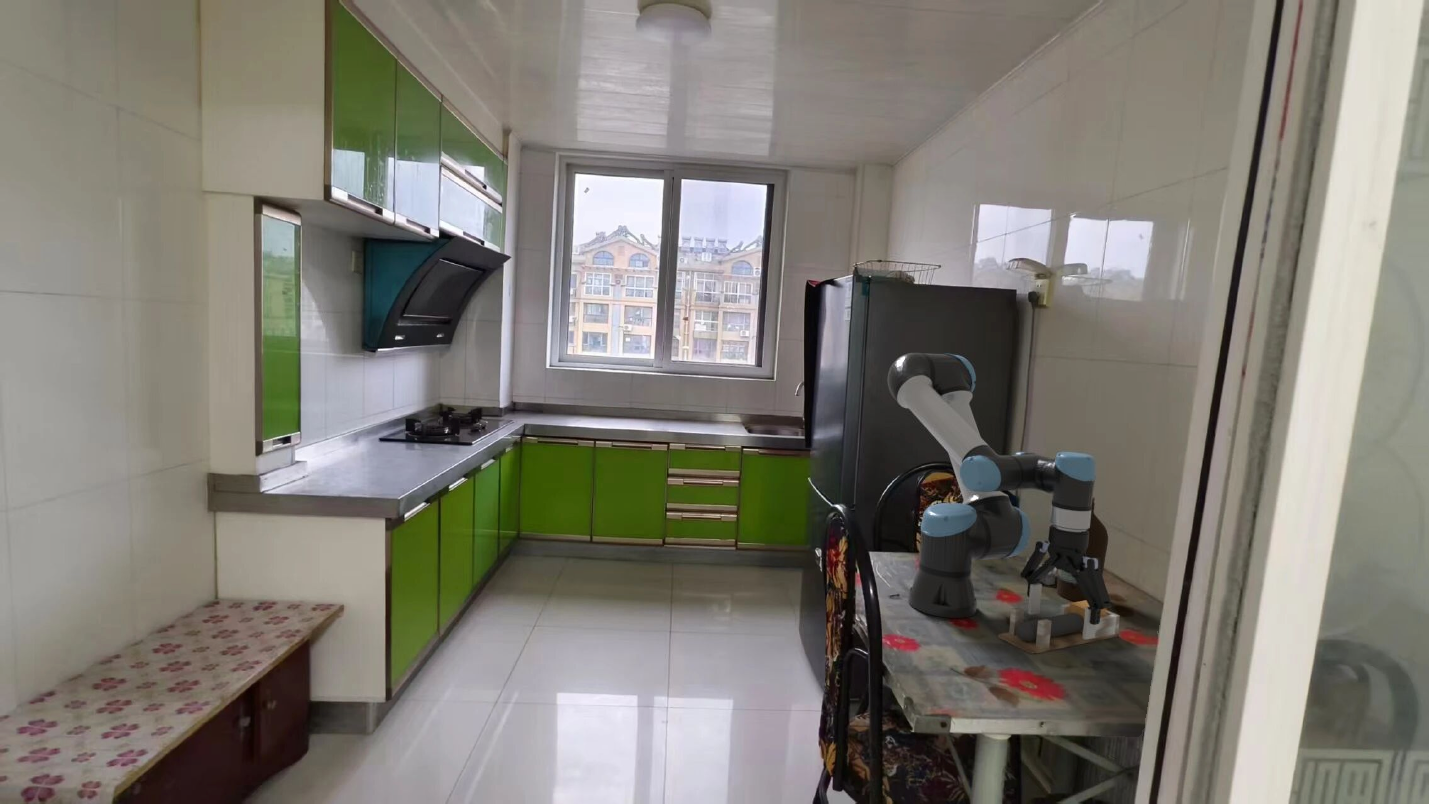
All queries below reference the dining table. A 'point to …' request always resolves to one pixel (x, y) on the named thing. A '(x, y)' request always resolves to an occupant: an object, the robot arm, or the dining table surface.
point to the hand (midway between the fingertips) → (1060, 625)
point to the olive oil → (1095, 549)
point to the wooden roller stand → (1045, 643)
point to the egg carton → (1049, 577)
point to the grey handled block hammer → (1058, 623)
